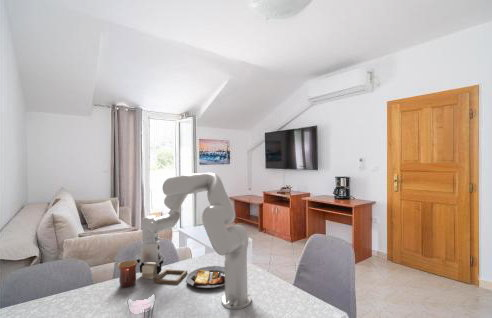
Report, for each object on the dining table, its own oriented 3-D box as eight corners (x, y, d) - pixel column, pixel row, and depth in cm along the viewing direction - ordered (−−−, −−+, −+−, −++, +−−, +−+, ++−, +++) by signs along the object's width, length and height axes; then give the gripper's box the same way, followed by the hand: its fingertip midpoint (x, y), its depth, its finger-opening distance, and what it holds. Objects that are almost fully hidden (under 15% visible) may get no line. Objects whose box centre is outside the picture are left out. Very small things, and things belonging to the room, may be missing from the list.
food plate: (232, 291, 116) (232, 283, 116) (181, 292, 117) (181, 284, 117) (235, 270, 141) (235, 263, 141) (193, 271, 142) (193, 264, 142)
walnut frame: (177, 284, 125) (177, 281, 125) (153, 282, 127) (153, 279, 127) (187, 273, 137) (187, 270, 137) (165, 272, 139) (165, 269, 139)
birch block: (152, 278, 131) (152, 267, 132) (142, 278, 133) (142, 266, 133) (158, 273, 137) (158, 262, 137) (148, 273, 138) (148, 262, 138)
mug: (118, 282, 128) (118, 261, 128) (137, 279, 131) (137, 259, 131) (116, 293, 117) (116, 271, 117) (137, 289, 120) (136, 267, 120)
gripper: (168, 238, 137) (169, 270, 137) (139, 237, 140) (139, 268, 140) (161, 242, 130) (162, 276, 130) (130, 241, 133) (131, 274, 133)
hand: (150, 272), depth 135 cm, fingers open, 9 cm apart
